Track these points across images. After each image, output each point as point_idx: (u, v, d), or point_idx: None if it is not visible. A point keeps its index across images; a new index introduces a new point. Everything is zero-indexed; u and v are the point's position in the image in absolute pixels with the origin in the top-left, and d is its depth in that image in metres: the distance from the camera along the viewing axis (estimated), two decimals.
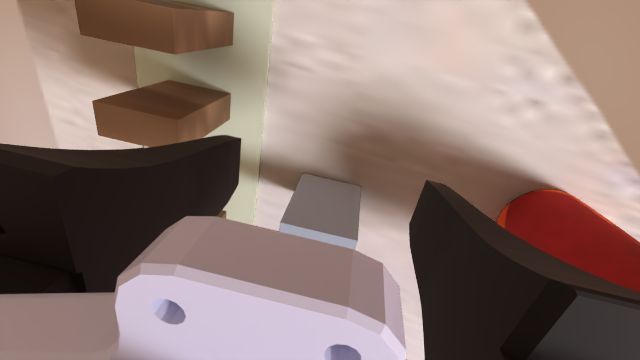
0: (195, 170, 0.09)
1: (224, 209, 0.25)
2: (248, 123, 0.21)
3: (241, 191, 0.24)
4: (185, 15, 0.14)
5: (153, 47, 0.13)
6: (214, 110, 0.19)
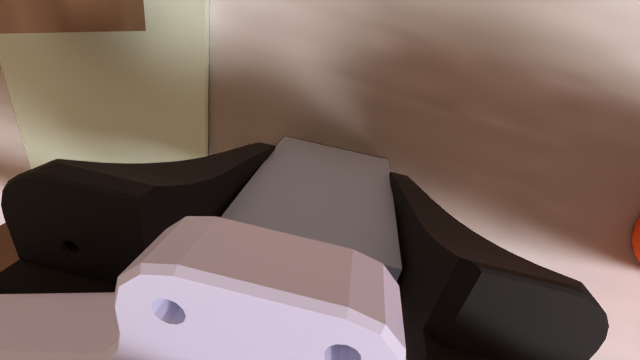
0: (240, 181, 0.09)
1: None
2: (179, 38, 0.11)
3: None
4: None
5: None
6: None
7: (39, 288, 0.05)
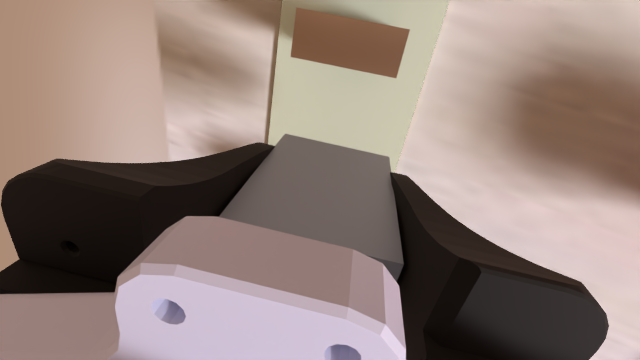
0: (240, 180, 0.09)
1: None
2: (410, 66, 0.18)
3: (382, 153, 0.21)
4: None
5: None
6: None
7: (39, 288, 0.05)
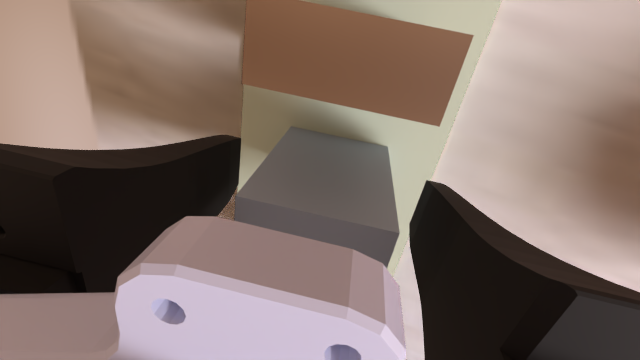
0: (195, 170, 0.09)
1: None
2: None
3: None
4: None
5: None
6: None
7: None
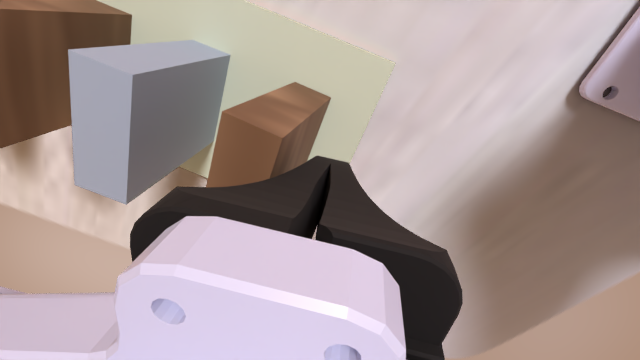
0: (314, 198, 0.09)
1: None
2: None
3: (256, 37, 0.13)
4: None
5: None
6: None
7: None
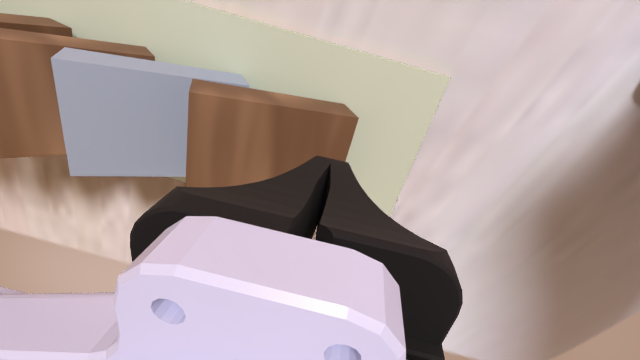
0: (314, 198, 0.09)
1: None
2: (186, 26, 0.14)
3: (307, 66, 0.14)
4: None
5: None
6: (80, 40, 0.12)
7: None
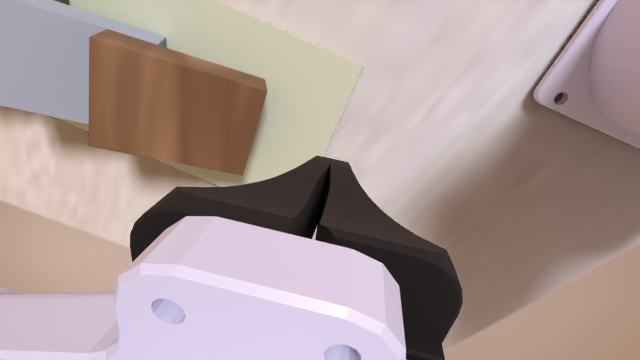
0: (314, 198, 0.09)
1: None
2: None
3: (231, 38, 0.14)
4: None
5: None
6: None
7: None
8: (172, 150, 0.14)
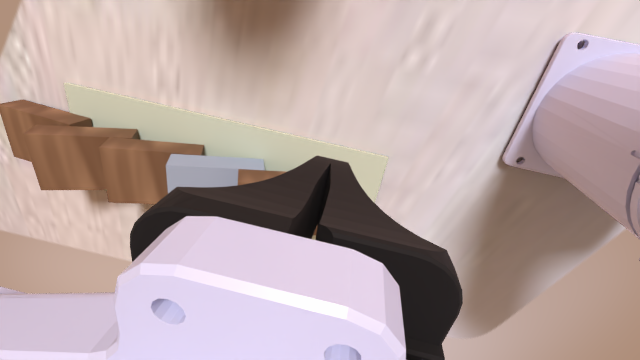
0: (314, 198, 0.09)
1: None
2: (231, 134, 0.23)
3: (303, 154, 0.23)
4: (51, 126, 0.22)
5: (28, 146, 0.21)
6: (168, 144, 0.23)
7: None
8: None
